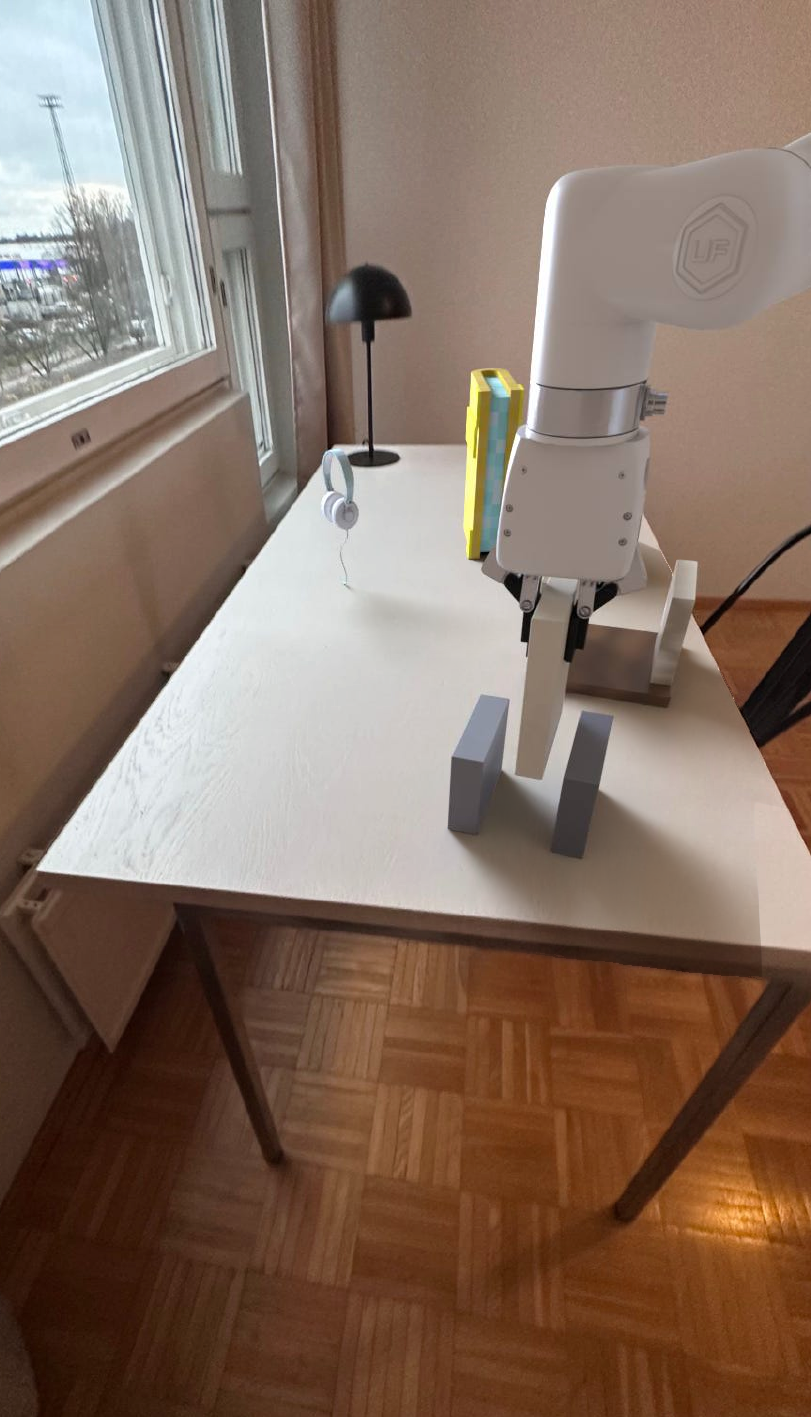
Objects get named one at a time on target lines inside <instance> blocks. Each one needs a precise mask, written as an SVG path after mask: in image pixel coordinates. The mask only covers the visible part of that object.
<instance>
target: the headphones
mask: <svg viewBox="0 0 811 1417" xmlns="http://www.w3.org/2000/svg"><path fill="white" fill-rule="evenodd" d="M334 457H335V458H336V460H337V462H338V464H339V467H340V468H341V472H342V476H343V481H344V485H345V494H343V493H341V492H339V491H337V490H335V488H334V487H333V484H332V477H331V469H332V461H333V458H334ZM321 469H322V470H321V471H322V477H323V482H324V486H325V490H324V491H325V494H324V495H323V496H322V499H321V503H320V511H321V513H322V515H323V516H324V518H325V519H326V520H328V521H329V522H331V523H333V524H334V525H335V526H336V527H337V528H339V529H341V530H343V531H345V530H346V536H345V539H344V541H343V542H342V544H341V546H340V549H339V558H340V562H341V565H342V568H343V571H344V573H345V574H344V575H345V581H344V580H343V579H342V578H341V577H339V580H340V581H341V583H342V584H343V585H346V584H347V582H348V574H347V570H346V567H345V565H344V562H343V558H342V550H343V548H344V545H345V544H346V542H347V541H348V538H349V530H351V529H352V528H353V527H355V526H356V524H357V522H358V520H359V515H360V513H359V507H358V505H357V504H356V502H355V501H354V500H353V498H354V490H355V488H354V487H355V479H354V478H355V477H354V472H353V467H352V465H351V462H350V459H349V458H348V456H347V454H346V453H345V451H344V450H342V449H341V448H334V449H328V450H326V451H325V452H324V454H323V456H322V460H321Z"/></svg>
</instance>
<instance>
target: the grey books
mask: <svg viewBox="0 0 811 1417" xmlns="http://www.w3.org/2000/svg"><path fill="white" fill-rule="evenodd" d="M478 696H479V697H478V698H477V701H476V703H475V704H474V707H473V709H472V712H471V714H470V716H469V718H468V719H467V722H466V725H465V727H464V729H463V731H462V733H461V735H460V737H459V739H458V742H457V744H456V746H455V747H454V750H453V752H452V755H451V758H450V775H449V776H450V777H449V794H448V796H449V797H448V798H449V799H448V810H447V813H448V814H447V829H448V830H452V831H456V832H461V833H465V834H470V835H474V836H478V834H479V831H480V829H481V826H482V823H483V820H484V818H485V816H486V812H487V810H488V807H489V805H490V802H491V800H492V799H491V798H492V796H493V793H494V791H495V789H496V785H497V783H498V780H499V777H500V775H501V772H502V769H503V761H504V753H505V752H504V751H505V743H506V734H507V726H508V718H509V709H510V701H511V700H510V698H507V697H501V696H496V695H495V696H494V695H489V694H482V693H481V694H479V695H478ZM613 721H614V715H612V714H611V715H610V714H605V713H600V712H593V711H586V710H581V711H580V715H579V718H578V723H577V726H576V730H575V733H574V736H573V737H574V738H573V742H572V745H571V749H570V753H569V757H568V760H567V764H566V768H565V772H564V775H563V780H562V785H561V789H560V796H559V801H558V806H557V812H556V816H555V822H554V827H553V831H552V838H551V843H550V848H549V852H550V853H554V854H558V855H562V856H568V857H572V858H576V859H581V860H582V859H583V858H584V853H585V849H586V844H587V840H588V836H589V831H590V828H591V823H592V819H593V814H594V811H595V806H596V802H597V798H598V793H599V788H600V785H601V780H602V776H603V775H602V774H603V771H604V764H605V760H606V755H607V750H608V745H609V741H610V735H611V731H612V725H613Z"/></svg>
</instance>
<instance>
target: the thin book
mask: <svg viewBox="0 0 811 1417" xmlns="http://www.w3.org/2000/svg"><path fill="white" fill-rule="evenodd" d="M579 585H580V580H576V579H565V578H555V577H550V578H549V580H548V582H547V584H546V587H545V589H544V591H543V594H542V596H541V598H540V601H539V603H538V605H537V608H536V610H535V612H534V615H533V617H532V620H531V629H530V638H529V647H528V656H527V657H526V664H525V666H526V667H525V676H524V685H523V695H522V704H521V712H520V721H519V722H520V723H519V731H518V740H517V747H516V748H517V750H516V758H515V759H516V760H515V767H514V776H515V777H523V778H527V779H533V780H538V781H542V780H543V778H544V775H545V771H546V768H547V764H548V761H549V757H550V754H551V752H552V748H553V744H554V740H555V737H556V735H557V730H558V727H559V724H560V721H561V718H562V714H563V709H564V701H565V695H566V692H565V689H566V683H567V676H568V670H569V662H565V660H564V653H565V646H566V639H567V632H568V625H569V619H570V616H571V613H572V610H573V608H574V605H575V604H576V601H577V599H578V595H579Z"/></svg>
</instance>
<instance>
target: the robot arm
mask: <svg viewBox="0 0 811 1417" xmlns="http://www.w3.org/2000/svg"><path fill="white" fill-rule="evenodd" d="M544 213H545V214H544V219H543V220H544V221H543V229H542V230H543V231H542V243H541V252H540V264H539V265H540V266H539V276H538V287H537V298H536V310H535V321H534V333H533V345H532V354H531V355H532V356H531V368H530V381H529V391H528V404H527V413H526V414H527V415H526V423H525V424H521V426H518V428H517V434H516V437H515V440H514V444H513V448H512V452H511V456H510V460H509V465H508V470H507V475H506V481H505V487H504V493H503V499H502V506H501V513H500V520H499V527H498V536H497V540H496V542H495V543H494V545H493V547H492V549H491V551H488V552H489V553H488V554H487V555H486V558H485V560H484V561H483V563H482V565H481V568H480V570H481V572H482V574H483V575H485V576H487V577H488V578H490V579H492V580H493V581H495V582H497V583H499V584H502V585H503V586H504V588H505V589H506V590H507V591H508V592H509V593H510V595H511V596H512V597H513V598H514V599H515V600H516V601H517V603H518V605H519V606H518V607H519V609H520V610H521V611H522V622H521V631H520V643H526V651H525V658H527V656H528V647H529V638H530V629H531V620H532V617H533V615H534V612H535V610H536V608H537V605H538V603H539V601H540V598H541V596H542V595H541V593H540V592H541V586H542V580H543V578H544V576H545V577H555V578H565V579H576V580H580V585H579V595H578V599H577V601H576V604H575V605H574V608H573V610H572V613H571V616H570V619H569V625H568V632H567V639H566V646H565V653H564V660H565V662H569V663H572V660H573V657H574V654H575V650H576V649H581V650H583V649H584V646H585V641H586V636H587V630H588V624H590V618H591V617H592V616H593V613H595V612H596V611H598V610H599V609H600V608H602V607H603V606H605V605H606V604H608V603H610V602H611V601H612V600H614V599H615V598H616V597H619V596H624V595H629V594H632V593H633V592H634V593H635V592H637V591H640V590H643V589H645V587H646V586H647V582H648V573H647V569H646V566H645V562H644V559H643V555H642V552H641V549H640V545H639V538H640V533H641V528H642V520H643V516H644V510H645V509H644V508H645V502H646V495H647V486H648V479H649V471H650V454H651V435H650V434H651V433H650V429H649V428H648V427H646V426H643V425H640V424H641V422H642V421H643V422H645V421H646V417H647V418H648V417H650V418H652V417H653V415H659V416H660V415H661V416H663V415H665V413H666V407H667V402H668V398H669V393H670V391H667V390H665V391H663V390H662V391H659V390H658V388H652V384H648V383H649V376H650V370H651V364H652V359H653V353H654V348H655V343H656V337H657V336H656V335H657V332H658V326H659V323H660V324H664V325H670V326H673V327H678V328H683V329H688V330H694V331H695V330H696V331H719V330H725V329H729V328H732V327H735V326H738V325H741V324H743V323H744V322H747V321H748V320H751V319H752V318H754V317H756V316H758V315H760V314H761V313H763V312H765V311H766V310H768V309H770V308H771V307H774V306H775V305H778V304H780V303H781V302H785V301H786V300H788V299H791V298H793V297H794V296H796V295H799V294H801V293H802V292H805V291H807V290H809V289H811V132H809V133H807V134H805V135H803V136H801V137H799V138H798V139H796V140H794V141H793V142H792V141H791V142H790V143H789V144H787V145H785V146H781V147H780V146H770V147H769V146H768V147H762V148H747V149H739V150H735V151H731V152H726V153H722V154H719V155H715V156H711V157H707V158H704V159H700V160H696V161H692V162H688V163H684V164H679V165H675V166H669V167H668V166H666V165H663V164H657V163H654V164H653V163H651V164H648V163H647V164H625V165H611V166H600V167H591V168H585V169H584V168H583V169H578V170H574V171H571V172H568V173H567V174H564V175H563V176H561V177H560V178H559V179H558V180H557V181H555V183H554V185H553V186H552V188H551V190H550V193H549V195H548V198H547V201H546V206H545V212H544Z"/></svg>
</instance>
